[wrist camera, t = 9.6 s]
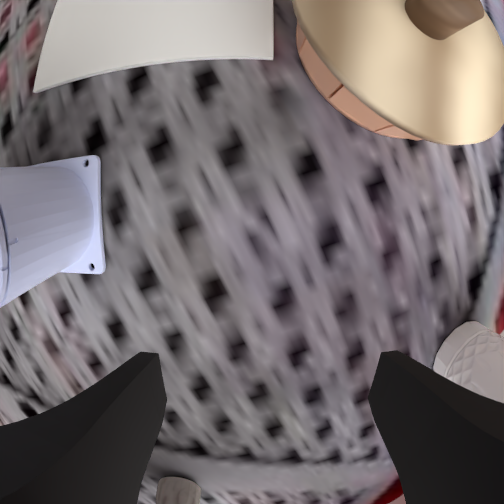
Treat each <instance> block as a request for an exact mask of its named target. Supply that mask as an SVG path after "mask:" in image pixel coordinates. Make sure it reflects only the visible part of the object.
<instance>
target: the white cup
mask: <svg viewBox="0 0 504 504" xmlns="http://www.w3.org/2000/svg"><path fill="white" fill-rule="evenodd" d="M433 370H434V372H436V373H438V374H440V375H441V376H443V377H445V378H447V379H449V380H451V381H452V382H454V383H456V384H458V385H460V386H462V387H464V388H466V389H468V390H470V391H472V392H475V393H477V394H479V395H482V396H485V397H487V398H490V399H493V400H495V401H498V402H501V403H504V337H503V336H501V335H499V334H498V333H494V332H492V331H491V330H489V329H488V328H486V327H485V326H483V325H482V324H480V323H479V322H477V321H471V322H465V323H464V324H462V325H461V326H459V327H457V328H456V329H455V330H454V331H453V332H452V333H451V334H450V335H449V336H448V337H447V338H446V339H445V340H444V342H443V344H442V345H441V347H440V349H439V351H438V353H437V354H436V358H435V362H434V366H433Z"/></svg>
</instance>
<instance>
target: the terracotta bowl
mask: <svg viewBox="0 0 504 504" xmlns="http://www.w3.org/2000/svg"><path fill="white" fill-rule="evenodd" d="M296 45H297V50H298V54H299V58H300V60H301V63H302V65H303V68H304V70H305V72H306V73H307V75H308V77H309V79H310V80H311V82H312V83H313V84H314V86H315V87H316V89H317V90H318V91H319V92H320V94H321V95H322V96H323V97H324V98H325V99H326V100H327V101H328V102H329V103H330V104H331V105H332V106H333V107H334V108H335V109H336V110H337V111H339V112H340V113H341V114H342V115H344V116H345V117H346V118H348V119H349V120H351V121H352V122H354V123H355V124H357V125H359V126H361V127H363V128H365V129H367V130H369V131H371V132H374V133H377V134H379V135H383V136H387V137H391V138H399V139H413V140H423V139H421V138H418V137H416V136H413V135H411V134H409V133H407V132H405V131H403V130H401V129H399V128H397V127H396V126H394V125H392V124H391V123H389V122H388V121H386V120H385V119H383V118H382V117H380V116H379V115H377V114H376V113H375V112H374V111H372V110H371V109H370V108H368V107H367V106H366V105H364V104H363V103H362V102H361V101H360V100H359V99H358V98H356V97H355V96H354V95H353V94H352V93H351V92H350V91H349V90H347V89H346V88H345V87H344V85H343V84H342V83H341V82H340V81H339V80H338V79H337V78H336V77H335V76H334V75H333V74H332V73H331V72H330V70H329V69H328V68H327V67H326V66H325V64H324V63H323V62H322V61H321V60H320V58H319V57H318V55H317V54H316V52H315V51H314V50H313V48H312V47H311V45H310V44H309V42H308V40H307V39H306V37H305V35H304V33H303V31H302V29H301V28H300V25H299V23H298V20H297V26H296Z"/></svg>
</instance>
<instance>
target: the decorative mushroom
mask: <svg viewBox="0 0 504 504" xmlns="http://www.w3.org/2000/svg"><path fill="white" fill-rule="evenodd" d="M200 496H201V488H200V487H199V486H198V485H197V484H196V483H194V482H192V481H190V480H188V479H184V478H180V477H164V478H161V479H160V481H159V482H158V488H157V494H156V504H200Z"/></svg>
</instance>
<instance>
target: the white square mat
mask: <svg viewBox="0 0 504 504" xmlns="http://www.w3.org/2000/svg"><path fill="white" fill-rule="evenodd" d="M216 59H259V60H273V0H58V1H57V4H56V6H55V9H54V12H53V15H52V18H51V21H50V24H49V27H48V30H47V34H46V37H45V40H44V44H43V48H42V52H41V56H40V60H39V64H38V69H37V74H36V79H35V84H34V90H33V92H34V93H39V92H42V91H45V90H48V89H51V88H54V87H57V86H60V85H63V84H66V83H70V82H73V81H77V80H80V79H84V78H88V77H92V76H96V75H100V74H105V73H109V72H114V71H119V70H124V69H130V68H136V67H142V66H148V65H156V64H164V63H172V62H183V61H196V60H216Z"/></svg>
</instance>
